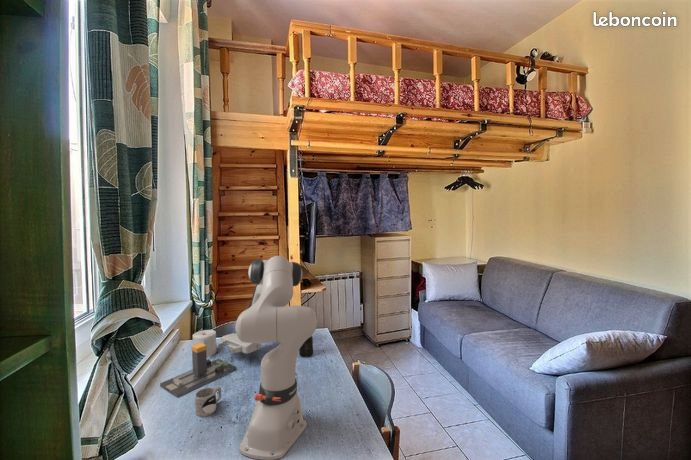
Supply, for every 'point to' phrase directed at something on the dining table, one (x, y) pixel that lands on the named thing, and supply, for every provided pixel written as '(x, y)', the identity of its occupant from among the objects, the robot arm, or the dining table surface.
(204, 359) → the breaker handle
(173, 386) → the breaker panel
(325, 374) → the dining table surface
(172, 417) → the dining table surface
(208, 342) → the toilet tissue
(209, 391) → the mug
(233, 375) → the dining table surface
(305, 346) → the supplement bottle
